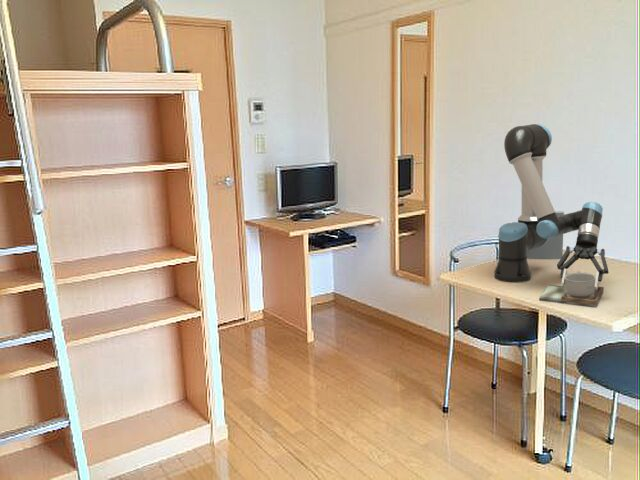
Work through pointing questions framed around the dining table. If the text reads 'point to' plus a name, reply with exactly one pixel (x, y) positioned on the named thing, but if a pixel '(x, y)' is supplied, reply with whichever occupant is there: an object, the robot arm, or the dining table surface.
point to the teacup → (580, 284)
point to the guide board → (561, 296)
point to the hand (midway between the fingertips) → (579, 286)
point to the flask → (548, 247)
